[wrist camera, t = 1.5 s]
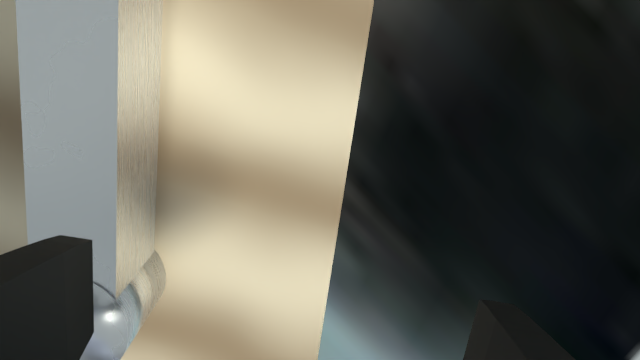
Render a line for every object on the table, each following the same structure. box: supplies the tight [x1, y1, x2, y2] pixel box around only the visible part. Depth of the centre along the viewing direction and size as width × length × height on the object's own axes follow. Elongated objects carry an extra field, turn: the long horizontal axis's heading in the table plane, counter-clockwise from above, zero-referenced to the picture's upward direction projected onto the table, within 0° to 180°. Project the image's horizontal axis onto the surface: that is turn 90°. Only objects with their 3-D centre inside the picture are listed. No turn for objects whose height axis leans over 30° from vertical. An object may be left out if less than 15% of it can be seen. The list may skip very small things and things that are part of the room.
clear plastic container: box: [15, 0, 166, 360], centre depth 15 cm, size 13×3×4 cm, turn 172°
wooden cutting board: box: [0, 0, 374, 360], centre depth 18 cm, size 20×20×4 cm
